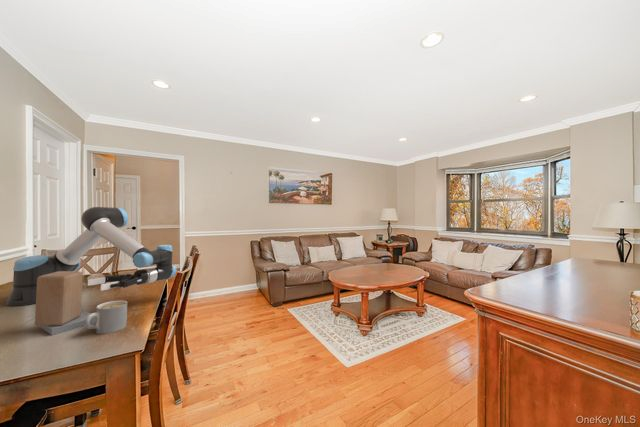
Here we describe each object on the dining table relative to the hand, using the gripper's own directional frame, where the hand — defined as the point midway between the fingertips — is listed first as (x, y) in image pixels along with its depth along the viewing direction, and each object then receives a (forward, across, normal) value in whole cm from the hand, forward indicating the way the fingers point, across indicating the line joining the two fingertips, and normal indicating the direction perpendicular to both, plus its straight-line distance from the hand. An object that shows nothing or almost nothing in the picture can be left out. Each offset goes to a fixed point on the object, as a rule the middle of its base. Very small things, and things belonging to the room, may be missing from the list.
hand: (94, 285), depth 114 cm
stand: (+8, 0, -15) cm, 17 cm away
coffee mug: (+2, -18, -15) cm, 24 cm away
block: (+11, 0, -13) cm, 17 cm away
